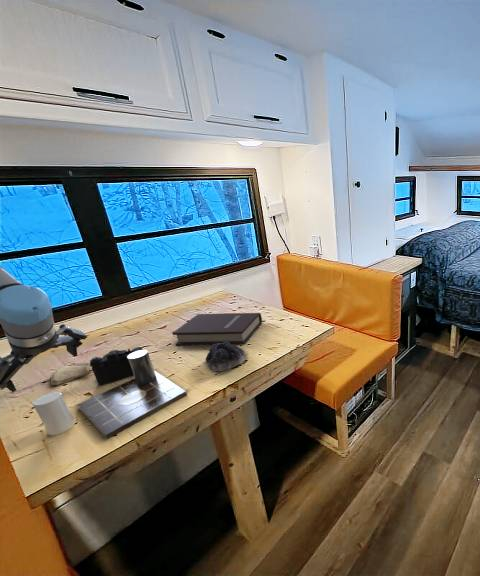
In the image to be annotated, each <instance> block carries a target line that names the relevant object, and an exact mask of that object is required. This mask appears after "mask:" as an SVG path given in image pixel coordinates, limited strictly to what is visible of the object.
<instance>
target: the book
mask: <svg viewBox="0 0 480 576" xmlns="http://www.w3.org/2000/svg"><path fill="white" fill-rule="evenodd" d="M262 324H263V318H262V314H261V312H234V313H231V312H230V313H228V312H227V313H198V314H196V315H194V317H192V318H190V319H189V320H188V321H186V322H185V323H183V324H182V325H181V326H179V327H177V329H176V330H174V331H173V332H172V335H173V336H176V338H177V342H175V347H181V346H183V347H184V346H185V347H186V346H187V347H188V346H190V347H191V346H212V345H213V344H217V343H224V342H225V341H227V342H230V344H232V345H235V346H238V345H241V344H245V345H246V344H247V342H248V341H249V340H250V339H251V337H253V335H254V334H255V333H256V331H257V330H258V329H259V328H260V327H261V325H262ZM259 326H260V327H259ZM254 332H255V333H254ZM249 338H250V339H249ZM241 346H242V345H241Z"/></svg>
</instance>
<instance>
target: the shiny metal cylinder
mask: <svg viewBox="0 0 480 576" xmlns="http://www.w3.org/2000/svg"><path fill="white" fill-rule="evenodd" d="M150 357H151V356H150V354H149V351H148V350H145V349H143V350H139V351H136V352H133V353H131V354H129V355H128V356H127V358H128V361H129V364H130V367H131V369H132V372H133V375H134V376H133V377H134V378H135V380H136V383H137V385H146V384H149V383H151V382H153V381H154V380H155V379H156V375H155V372H154V370H155V368H154V366H153V363H152V360H151V358H150ZM134 378H133V379H134Z"/></svg>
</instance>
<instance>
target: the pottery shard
mask: <svg viewBox="0 0 480 576" xmlns="http://www.w3.org/2000/svg"><path fill="white" fill-rule="evenodd" d="M89 368H91V365H90V362H89V363H87V364H84V365H63V366H61V367H60V368H58V369H57V370H56V371H55V373H54V374H53V375H52V377H51V378H50V385H51V386H59V385H61V384H65V383H68V382H71V381H73V380H76V379H77V378H81V377H83V376H86V375H88V374H89V373H90V370H89Z"/></svg>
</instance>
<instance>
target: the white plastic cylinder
mask: <svg viewBox="0 0 480 576" xmlns="http://www.w3.org/2000/svg"><path fill="white" fill-rule="evenodd" d="M32 405H33V407H34V409H35V411H36V413H37V415H38V417H39V419H40V421H41V422H42V424H43V427H44V428H45V430H46V432H47V435H49V436H57V435H61V434H63V433H66V432H67V431H69V430H70V429H72V428H73V426H74V425H75V424H76V422H75V419H74V417H73V415H72V413H71V411H70V409H69V407H68V405H67V403H66V400H65V398H64V396H63V394H62V393H61V392H60V391H53V392H49V393H46V394H43V395H41V396H39V397H37V398H36V399H34V400H33V402H32Z"/></svg>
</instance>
